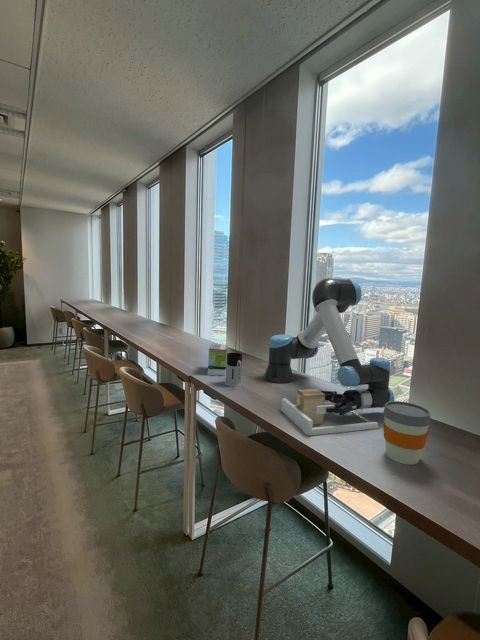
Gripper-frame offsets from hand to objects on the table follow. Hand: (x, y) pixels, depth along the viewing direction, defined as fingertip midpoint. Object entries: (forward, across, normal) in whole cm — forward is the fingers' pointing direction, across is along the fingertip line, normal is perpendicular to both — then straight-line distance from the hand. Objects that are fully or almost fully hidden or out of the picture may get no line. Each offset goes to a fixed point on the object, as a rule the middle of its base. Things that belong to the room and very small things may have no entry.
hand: (307, 403), depth 120 cm
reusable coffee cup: (-17, -29, -7) cm, 34 cm away
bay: (-9, 0, -7) cm, 12 cm away
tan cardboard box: (-1, 0, -7) cm, 7 cm away
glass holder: (+15, +44, -7) cm, 47 cm away
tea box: (+18, +69, -7) cm, 72 cm away
